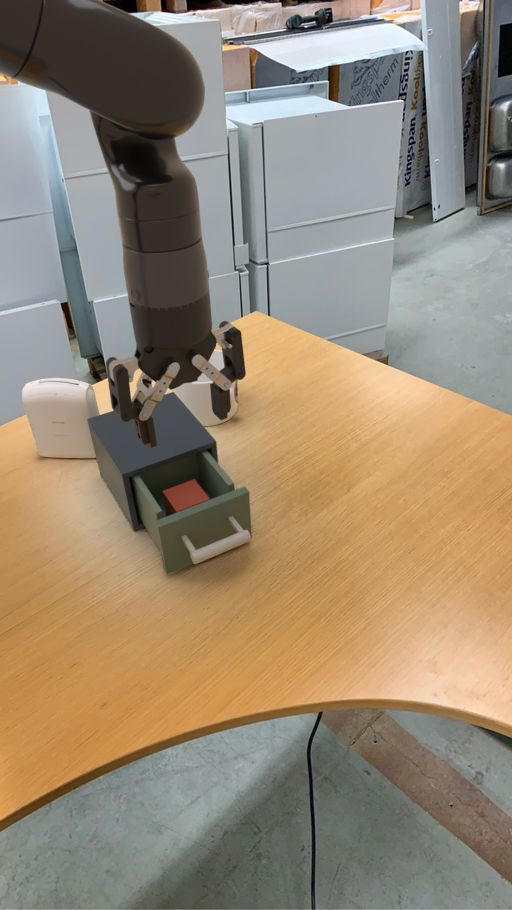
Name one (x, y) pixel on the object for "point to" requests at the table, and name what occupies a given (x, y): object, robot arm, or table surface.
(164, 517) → the drawer
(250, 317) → the table surface
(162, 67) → the robot arm
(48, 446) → the photo printer
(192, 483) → the block
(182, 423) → the cabinet
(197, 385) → the mug
